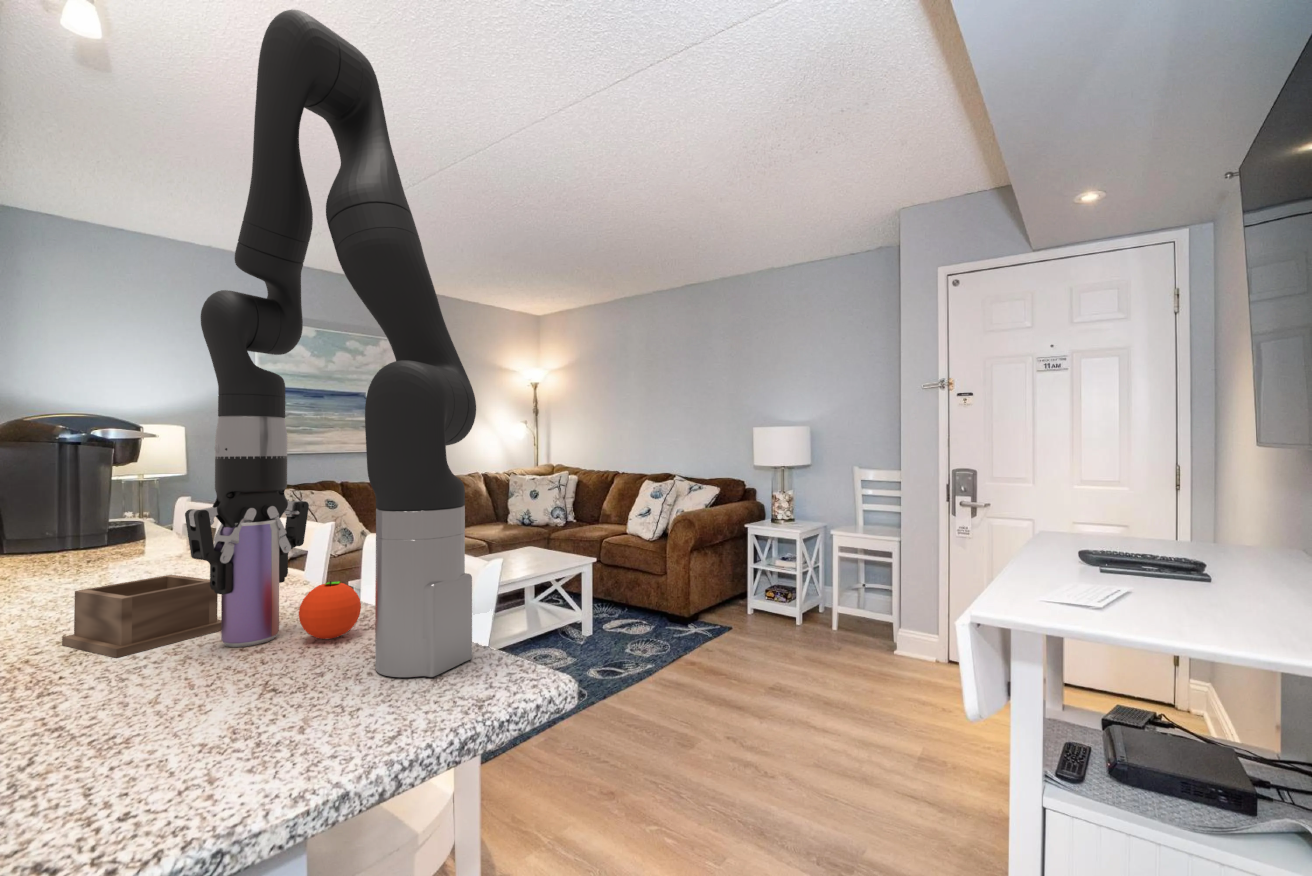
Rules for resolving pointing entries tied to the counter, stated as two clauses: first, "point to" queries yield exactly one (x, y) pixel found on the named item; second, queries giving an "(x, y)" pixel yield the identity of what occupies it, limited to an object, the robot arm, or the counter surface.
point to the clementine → (329, 610)
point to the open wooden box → (142, 615)
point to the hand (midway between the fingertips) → (251, 587)
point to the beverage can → (252, 586)
